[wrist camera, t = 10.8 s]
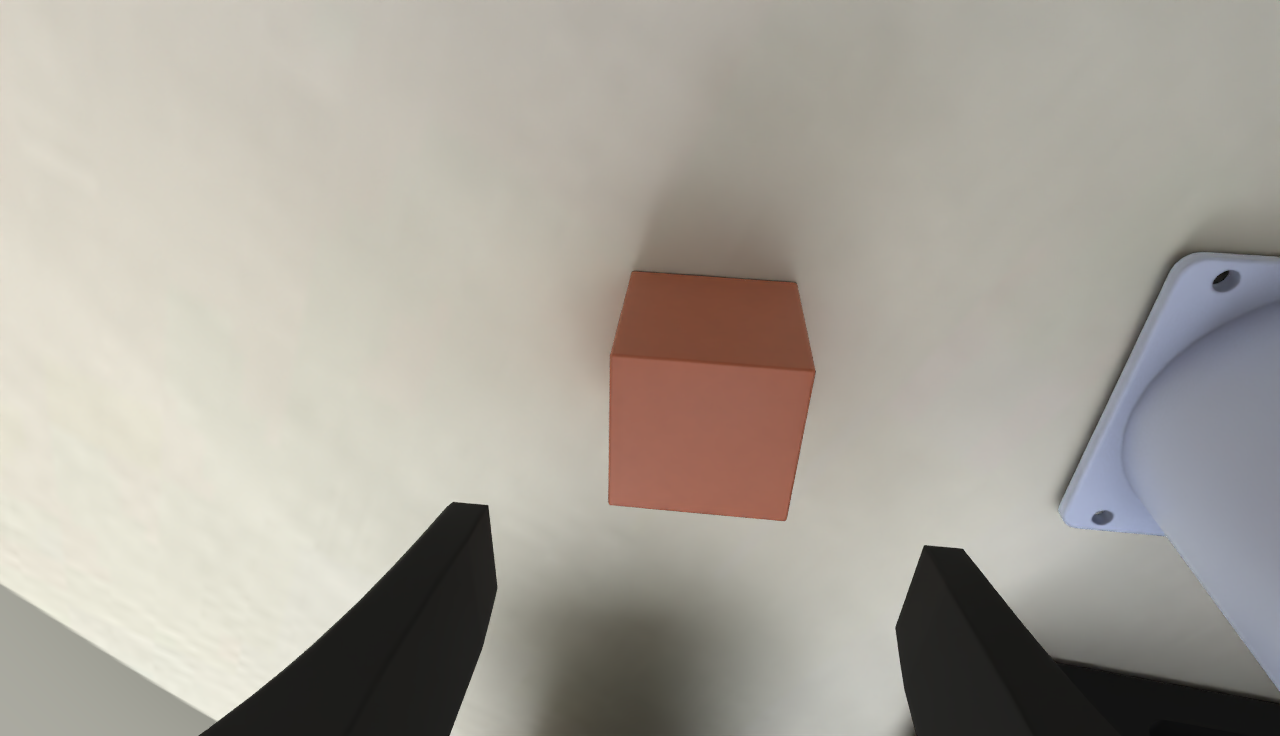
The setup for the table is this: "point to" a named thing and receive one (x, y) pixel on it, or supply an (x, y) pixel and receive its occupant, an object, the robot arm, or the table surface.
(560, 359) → the table surface
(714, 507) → the block
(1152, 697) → the device stand
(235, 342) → the table surface
